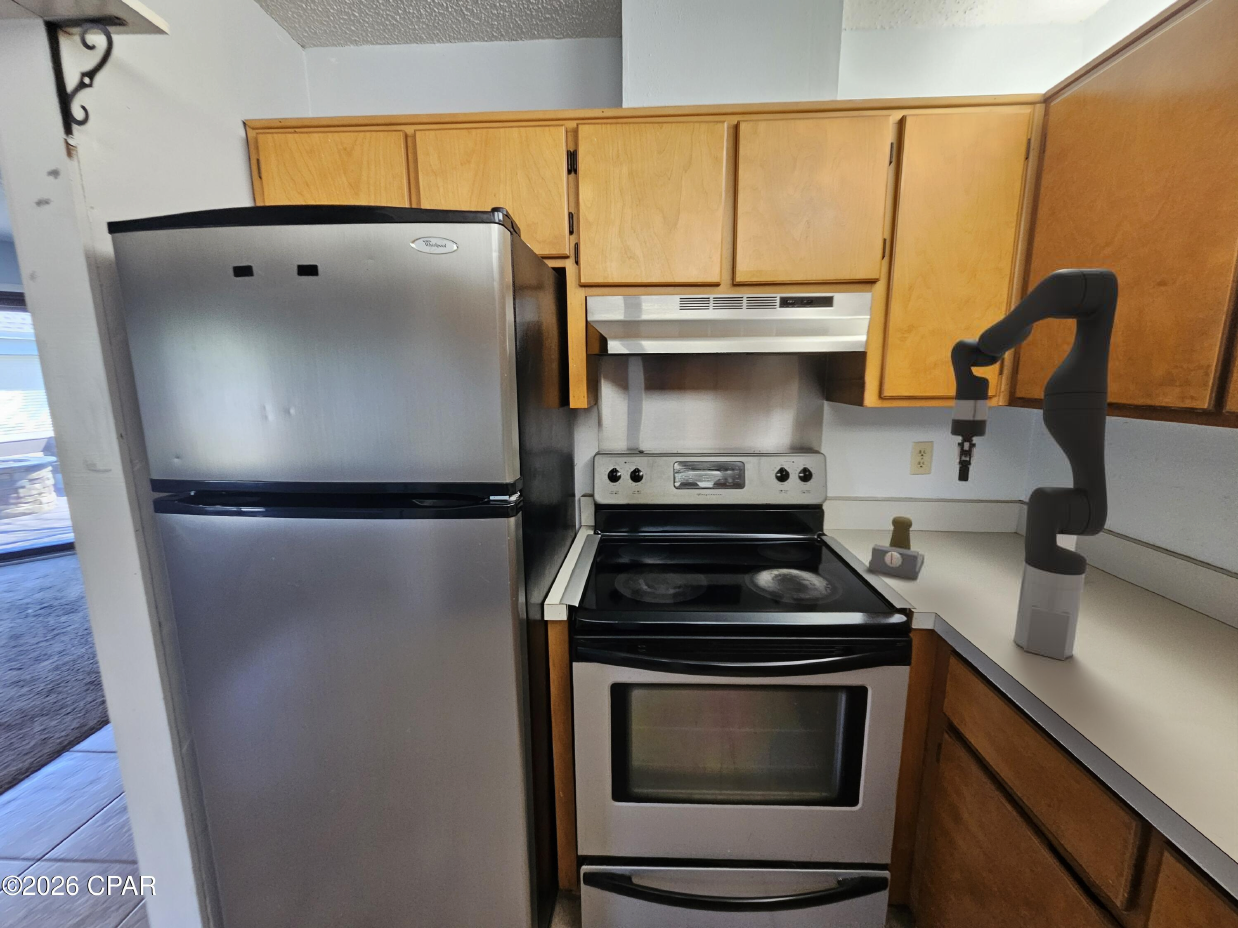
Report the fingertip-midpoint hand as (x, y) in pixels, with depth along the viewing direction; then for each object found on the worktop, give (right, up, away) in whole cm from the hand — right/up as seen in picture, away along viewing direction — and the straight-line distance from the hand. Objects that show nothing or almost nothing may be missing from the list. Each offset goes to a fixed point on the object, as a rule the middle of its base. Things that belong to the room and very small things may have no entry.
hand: (963, 478), depth 132 cm
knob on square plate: (-10, -26, +13) cm, 31 cm away
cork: (-9, -23, +15) cm, 28 cm away
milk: (+32, -26, +10) cm, 43 cm away
